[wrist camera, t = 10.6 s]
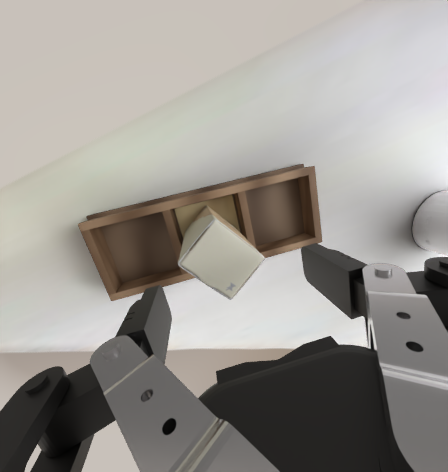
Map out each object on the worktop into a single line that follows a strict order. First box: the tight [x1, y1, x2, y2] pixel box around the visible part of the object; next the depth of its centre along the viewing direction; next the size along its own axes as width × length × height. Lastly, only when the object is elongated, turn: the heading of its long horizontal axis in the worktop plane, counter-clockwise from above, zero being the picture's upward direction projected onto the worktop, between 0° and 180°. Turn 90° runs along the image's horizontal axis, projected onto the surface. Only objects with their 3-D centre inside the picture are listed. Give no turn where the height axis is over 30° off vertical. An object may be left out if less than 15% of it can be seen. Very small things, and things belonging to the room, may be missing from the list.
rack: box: [78, 164, 322, 301], centre depth 25 cm, size 26×10×4 cm, turn 103°
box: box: [178, 205, 265, 300], centre depth 20 cm, size 5×4×11 cm
